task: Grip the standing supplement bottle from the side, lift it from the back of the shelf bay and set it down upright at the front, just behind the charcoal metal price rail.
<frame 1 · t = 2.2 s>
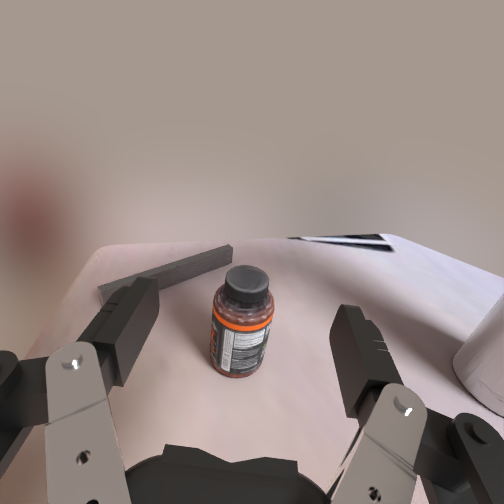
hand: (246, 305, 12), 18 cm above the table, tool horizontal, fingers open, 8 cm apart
price rail: (175, 280, 41), on the table
supplement bottle: (236, 357, 31), on the table
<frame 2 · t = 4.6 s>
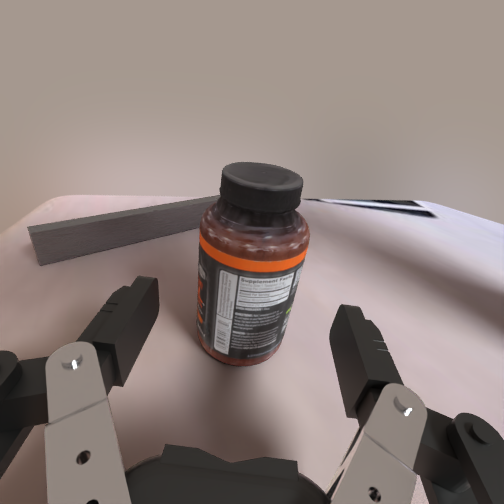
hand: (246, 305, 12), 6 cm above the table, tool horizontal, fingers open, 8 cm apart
price rail: (154, 235, 29), on the table
supplement bottle: (239, 335, 19), on the table
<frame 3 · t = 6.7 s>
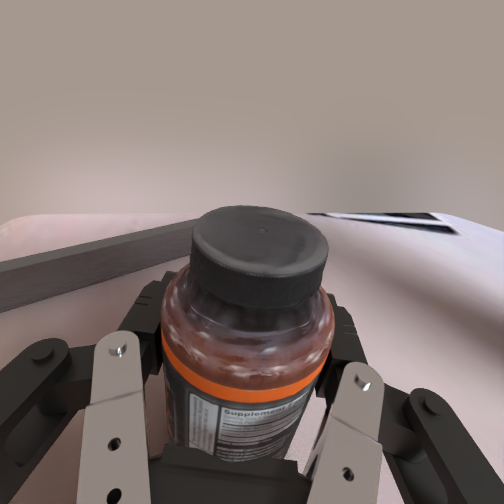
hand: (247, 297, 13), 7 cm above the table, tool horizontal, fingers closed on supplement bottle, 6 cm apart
price rail: (128, 268, 24), on the table
supplement bottle: (228, 429, 14), on the table, touching gripper
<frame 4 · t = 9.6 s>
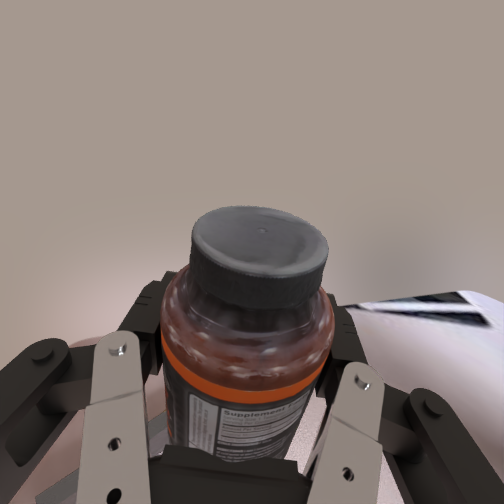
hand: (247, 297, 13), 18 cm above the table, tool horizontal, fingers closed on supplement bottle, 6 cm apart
price rail: (186, 423, 24), on the table
supplement bottle: (228, 429, 14), point 11 cm above the table, touching gripper
when the fingers open (8 cm above the table, at t = 12.8 s): supplement bottle drops 1 cm, on the table.
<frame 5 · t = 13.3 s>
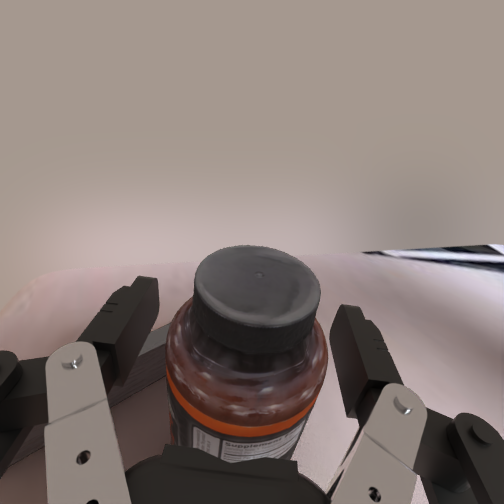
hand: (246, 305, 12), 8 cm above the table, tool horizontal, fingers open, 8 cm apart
price rail: (185, 355, 19), on the table
supplement bottle: (229, 447, 15), on the table
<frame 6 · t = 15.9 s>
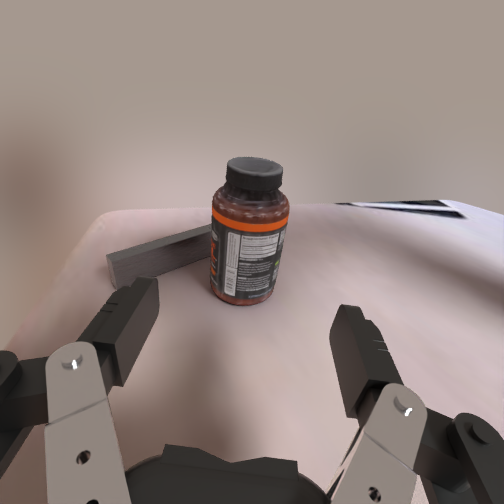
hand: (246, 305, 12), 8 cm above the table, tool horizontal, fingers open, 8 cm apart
price rail: (210, 251, 30), on the table
supplement bottle: (241, 287, 26), on the table
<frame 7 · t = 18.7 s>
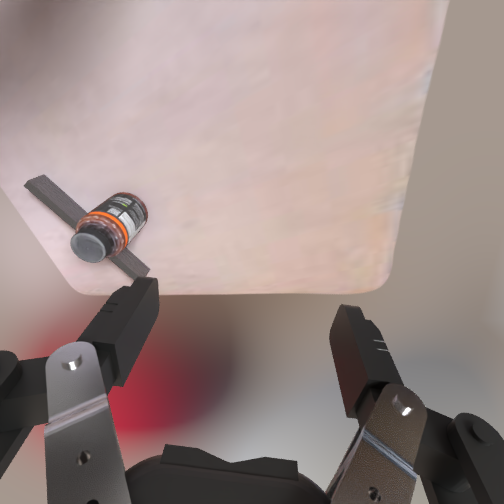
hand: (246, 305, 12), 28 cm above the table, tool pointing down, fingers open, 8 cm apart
price rail: (99, 228, 43), on the table
supplement bottle: (130, 209, 41), on the table
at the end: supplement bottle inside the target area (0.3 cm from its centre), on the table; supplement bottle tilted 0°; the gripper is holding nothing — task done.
